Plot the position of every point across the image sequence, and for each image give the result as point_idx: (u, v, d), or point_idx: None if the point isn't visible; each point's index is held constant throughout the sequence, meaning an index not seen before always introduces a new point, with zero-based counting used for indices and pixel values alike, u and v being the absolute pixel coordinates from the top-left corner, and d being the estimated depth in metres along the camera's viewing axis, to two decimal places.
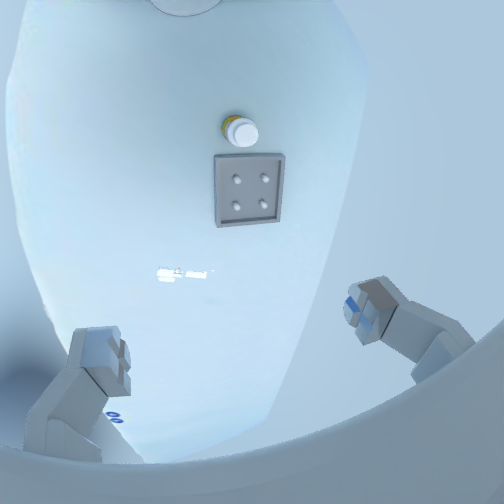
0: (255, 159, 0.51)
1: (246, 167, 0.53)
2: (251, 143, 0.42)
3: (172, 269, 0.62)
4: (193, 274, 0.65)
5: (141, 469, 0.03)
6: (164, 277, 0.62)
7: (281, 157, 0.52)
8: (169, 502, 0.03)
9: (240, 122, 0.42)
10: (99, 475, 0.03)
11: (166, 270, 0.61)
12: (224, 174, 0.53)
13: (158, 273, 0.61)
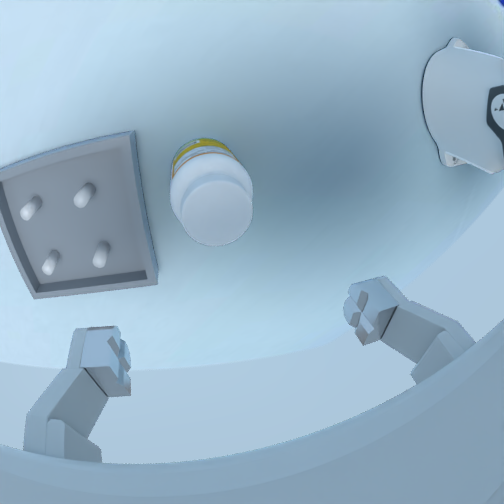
0: (137, 227, 0.21)
1: (114, 210, 0.21)
2: (194, 232, 0.15)
3: None
4: None
5: (141, 469, 0.03)
6: None
7: (153, 277, 0.24)
8: (169, 502, 0.03)
9: (245, 187, 0.16)
10: (99, 475, 0.03)
11: None
12: (91, 162, 0.18)
13: None
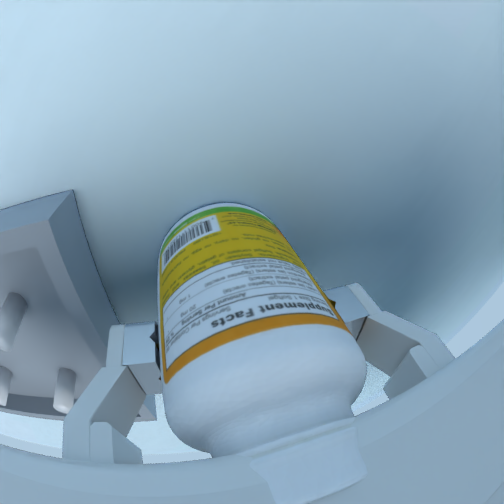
0: None
1: (67, 333, 0.10)
2: None
3: None
4: None
5: (141, 469, 0.03)
6: None
7: (150, 415, 0.13)
8: (169, 502, 0.03)
9: (357, 394, 0.06)
10: (99, 475, 0.03)
11: None
12: (7, 260, 0.08)
13: None
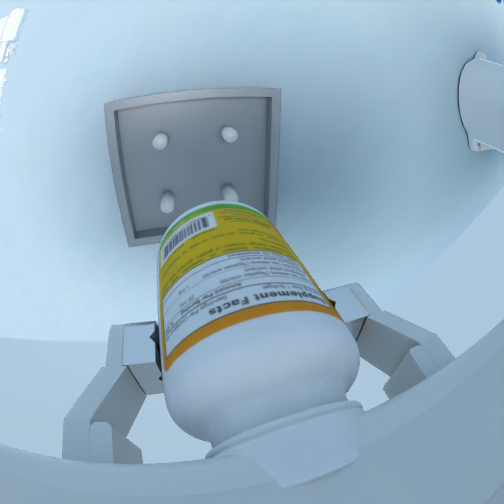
0: (272, 170, 0.24)
1: (247, 154, 0.25)
2: None
3: (16, 37, 0.10)
4: None
5: (141, 469, 0.03)
6: (4, 24, 0.08)
7: (273, 220, 0.28)
8: (169, 502, 0.03)
9: (351, 380, 0.06)
10: (99, 475, 0.03)
11: (17, 24, 0.09)
12: (234, 107, 0.22)
13: (16, 10, 0.08)
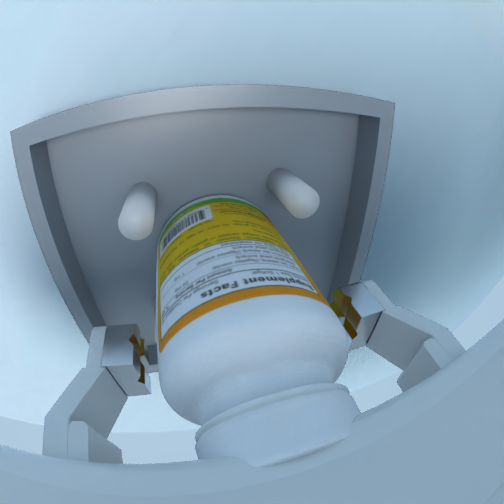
0: (359, 255, 0.13)
1: (315, 223, 0.13)
2: None
3: None
4: None
5: (141, 469, 0.03)
6: None
7: None
8: (169, 502, 0.03)
9: (339, 366, 0.06)
10: (99, 475, 0.03)
11: None
12: (299, 130, 0.10)
13: None
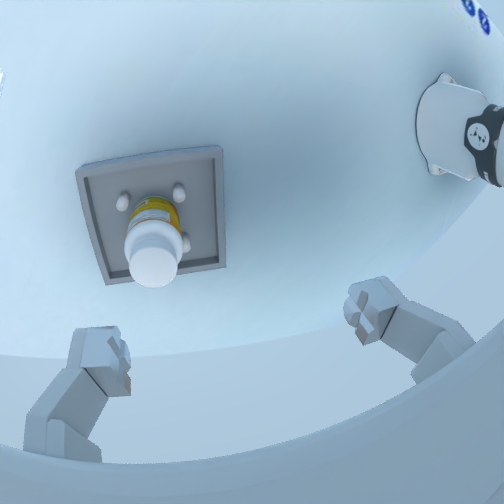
0: (219, 220, 0.29)
1: (197, 206, 0.29)
2: (139, 279, 0.21)
3: None
4: None
5: (141, 469, 0.03)
6: None
7: (224, 261, 0.32)
8: (169, 502, 0.03)
9: (174, 244, 0.22)
10: (99, 475, 0.03)
11: None
12: (183, 167, 0.26)
13: None
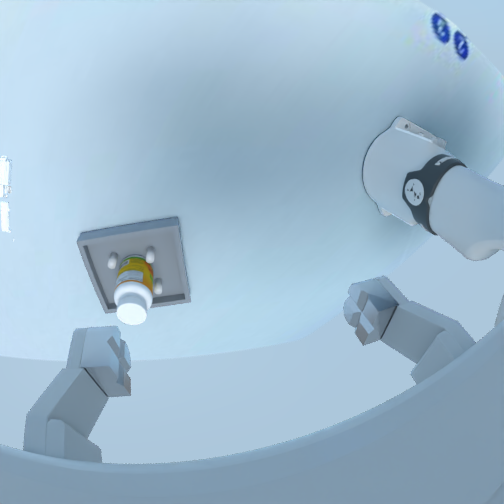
0: (181, 272, 0.39)
1: (166, 261, 0.39)
2: (123, 320, 0.31)
3: (9, 182, 0.25)
4: (4, 213, 0.27)
5: (141, 469, 0.03)
6: None
7: (189, 298, 0.42)
8: (169, 502, 0.03)
9: (145, 297, 0.33)
10: (99, 475, 0.03)
11: (7, 173, 0.24)
12: (153, 235, 0.36)
13: (2, 160, 0.23)
